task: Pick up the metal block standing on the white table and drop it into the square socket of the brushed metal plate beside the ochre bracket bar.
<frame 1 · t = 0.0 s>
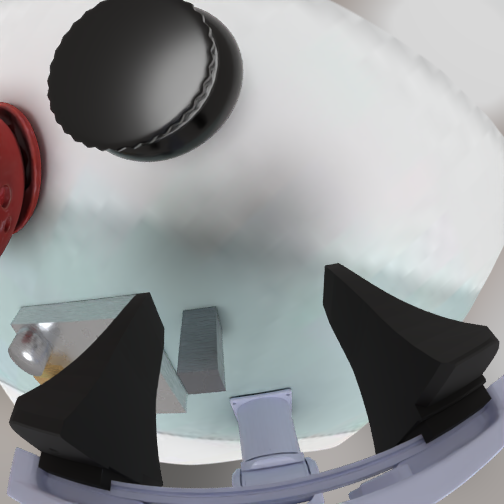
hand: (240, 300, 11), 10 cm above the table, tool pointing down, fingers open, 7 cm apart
supplement bottle: (181, 93, 15), on the table
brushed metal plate: (102, 356, 26), on the table
plant pot: (6, 170, 15), on the table
metal block: (203, 320, 24), on the table
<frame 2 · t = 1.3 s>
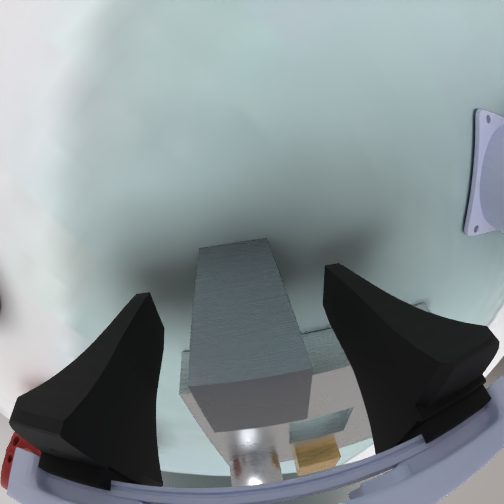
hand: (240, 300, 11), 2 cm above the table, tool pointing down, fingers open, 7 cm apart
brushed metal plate: (310, 397, 19), on the table
plant pot: (83, 416, 19), on the table
metal block: (237, 271, 13), on the table
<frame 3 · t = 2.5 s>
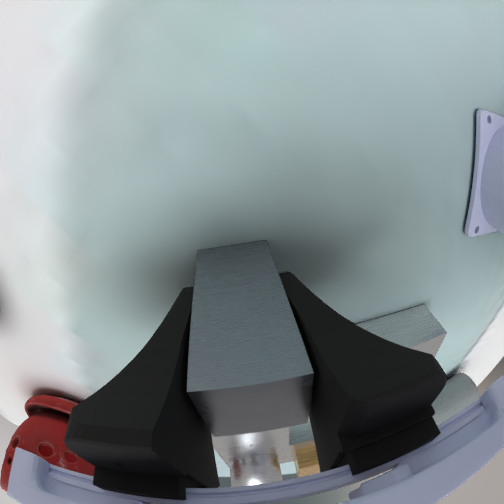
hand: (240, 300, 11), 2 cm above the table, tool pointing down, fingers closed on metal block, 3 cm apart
ceramic mug: (429, 393, 25), on the table
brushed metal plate: (310, 398, 19), on the table
plant pot: (83, 418, 19), on the table
metal block: (236, 274, 13), on the table, touching gripper
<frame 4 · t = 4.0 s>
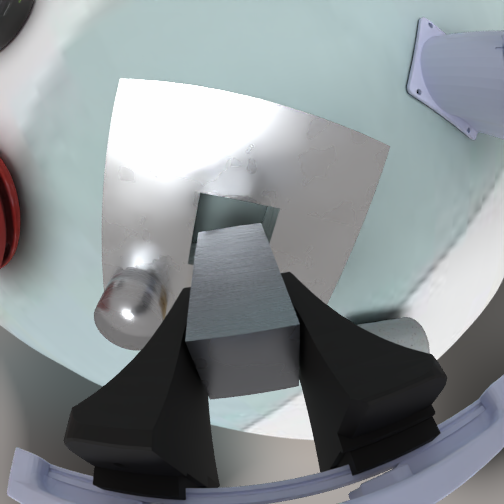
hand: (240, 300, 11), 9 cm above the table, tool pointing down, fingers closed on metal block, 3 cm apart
ceramic mug: (362, 339, 27), on the table
supplement bottle: (8, 20, 7), on the table
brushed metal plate: (229, 218, 19), on the table
metal block: (233, 254, 14), point 6 cm above the table, touching gripper
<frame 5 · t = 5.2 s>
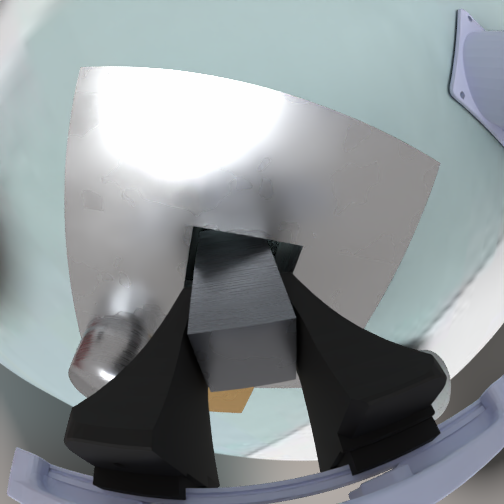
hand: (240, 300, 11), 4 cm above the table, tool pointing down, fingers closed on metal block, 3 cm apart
ceramic mug: (378, 372, 24), on the table
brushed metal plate: (233, 250, 15), on the table
metal block: (233, 253, 14), point 1 cm above the table, touching gripper
when the fingers open (4 cm above the table, at t = 5.8 s): metal block stays where it is, resting in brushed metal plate.
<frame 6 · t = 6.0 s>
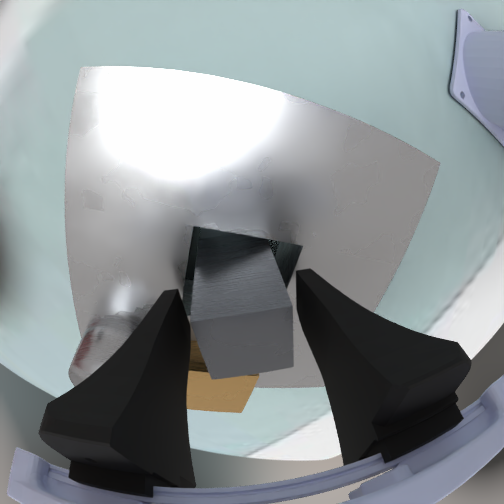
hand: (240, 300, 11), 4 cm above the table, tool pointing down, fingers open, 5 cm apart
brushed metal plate: (233, 250, 15), on the table
metal block: (233, 247, 14), resting in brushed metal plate
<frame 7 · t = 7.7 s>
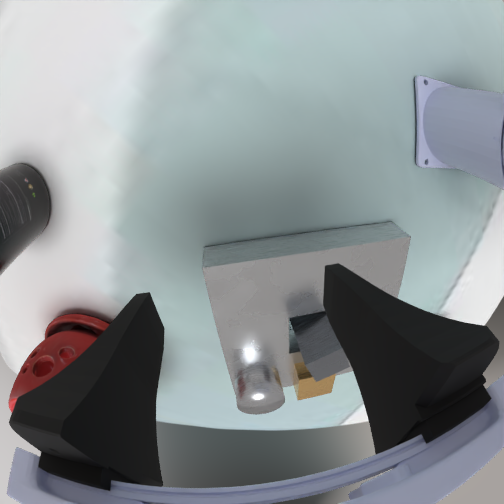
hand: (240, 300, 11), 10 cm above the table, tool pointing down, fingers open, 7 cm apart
supplement bottle: (25, 199, 17), on the table
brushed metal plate: (305, 310, 25), on the table
plant pot: (99, 345, 25), on the table
metal block: (305, 308, 25), resting in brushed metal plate
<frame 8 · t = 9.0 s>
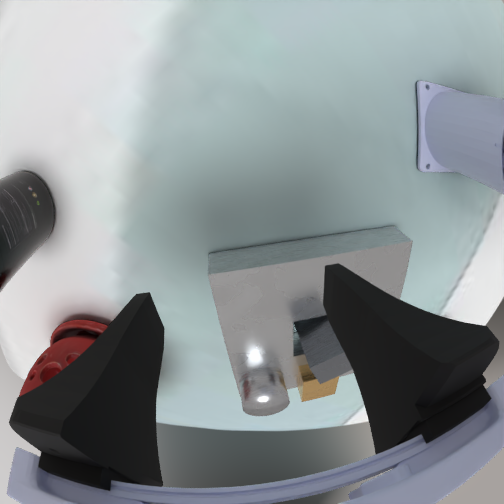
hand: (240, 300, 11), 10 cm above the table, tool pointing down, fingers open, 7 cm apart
supplement bottle: (29, 207, 17), on the table
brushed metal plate: (309, 313, 25), on the table
plant pot: (105, 350, 25), on the table
metal block: (309, 312, 25), resting in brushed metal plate
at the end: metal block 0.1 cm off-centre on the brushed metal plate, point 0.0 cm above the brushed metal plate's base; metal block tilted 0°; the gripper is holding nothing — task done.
